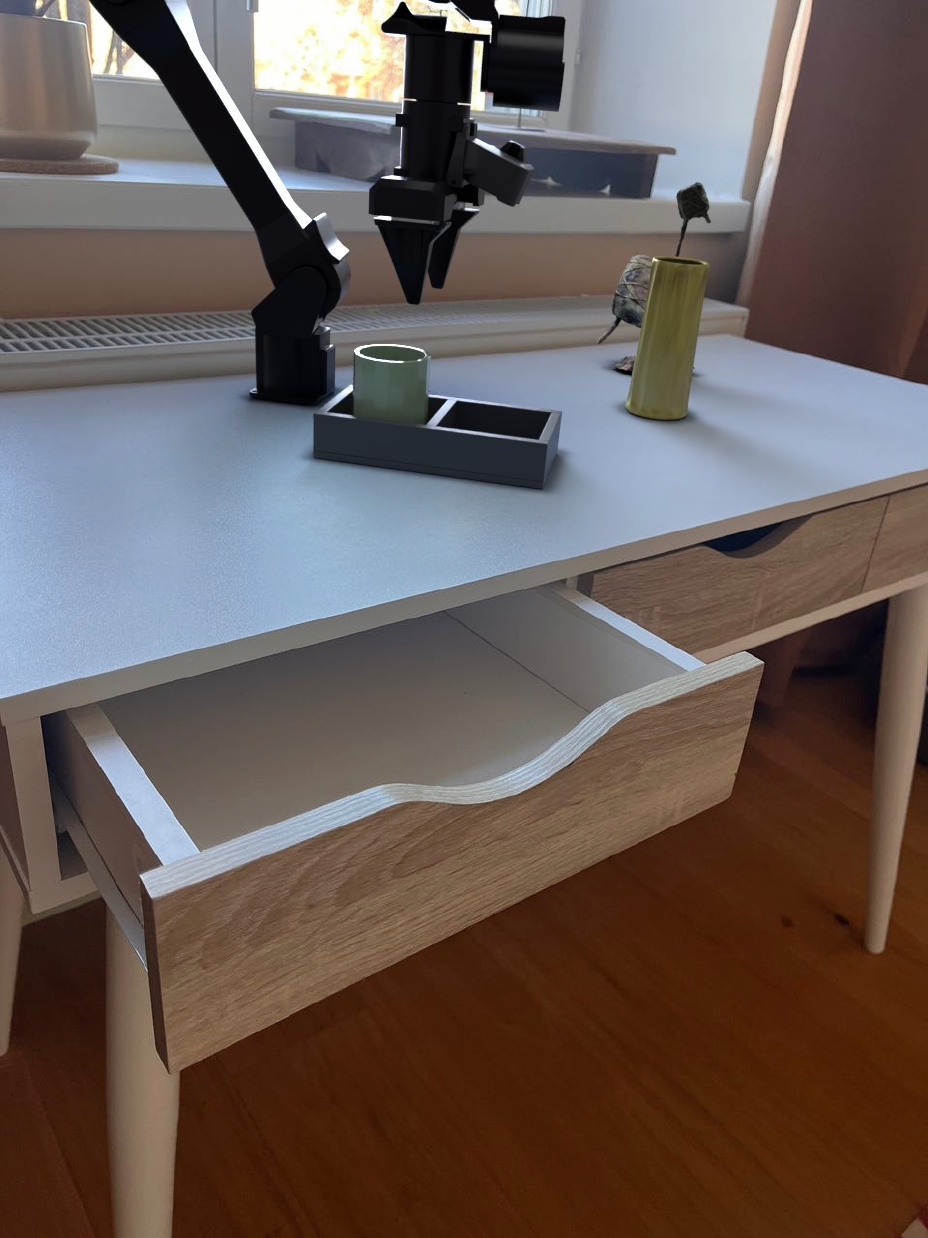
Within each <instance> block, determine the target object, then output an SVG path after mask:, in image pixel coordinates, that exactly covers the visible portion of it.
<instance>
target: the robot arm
mask: <svg viewBox="0 0 928 1238" xmlns="http://www.w3.org/2000/svg"><path fill="white" fill-rule="evenodd" d="M418 1H419V2H421V3H424V4H425V5H428V6H430V7H432V8H435V9H438V10H446V11H447V10H449V11H451V10H455V11H456V12H457V13H458V14H459V15H460V16H461V17H463V18H464V19H465V20H466V21H467V22H468V23H469V24H470V25H471V26H472V27H477V28H486V29H491V34H485V33H474V32H464V31H463V32H462V31H453V30H450V22H449V16H447V15H446V16H445V15H436V14H435V15H434V14H421V13H413V12H412V10H411V8H410V7H409V5H408V3H406V2H405V1H403V0H402V1H400V2H399V3H398V6H397V7H396V10H395V11H394V12H393V13H392V15H391V16H390V17H389V18H387V19H386V20H385V21H383V22H382V23H381V25H380V29H381V32H382V33H383V34H385V35H387V36H389V37H400V38H404V57H403V58H404V59H403V78H402V79H403V82H402V83H403V84H402V102H401V103H402V104H401V112H395V119H394V121H395V123H394V127H395V128H396V127H397V128H400V129H401V130H400V133H401V134H400V153H399V156H400V157H399V166H395V167H393V175H387V176H382V177H380V178H379V179H378V180H377V181H375V183H374V184H373V185H372V186H371V187H369V188H368V215H371V216H375V217H373V223H374V225H375V226H377V228H378V231H379V232H380V236H381V238H382V240H383V243H384V245H385V248H386V250H387V252H388V255H389V258H390V259H391V262H392V265H393V268H394V270H395V273H396V275H397V278H398V281H399V284H400V286H401V290H402V292H403V296H404V297H405V300H406V302H407V304H408V305H413V306H419V305H420V304H421V303H422V299H423V295H424V291H425V286H426V281H427V276H428V279H429V283H430V286H431V288H432V289H437V290H443V289H444V288H445V285H446V282H447V278H448V274H449V270H450V268H451V265H452V260H453V257H454V254H455V250H456V246H457V243H458V241H459V237H460V235H461V231H462V229H463V228H464V227H465V226H466V225H467V224H468V223H470V221H472V219H474V218H475V217H476V216H477V215H478V214H480V213H481V209H477V208H469V207H466V204H472V207H481V206H484V205H485V198H486V197H485V195H486V193H488V194H489V195H492V196H493V197H495V198H496V200H497V201H498V202H500V203H502V204H503V205H506V206H508V207H512V208H513V207H516V205H520V203H521V200H522V199H523V196H524V194H525V192H526V190H527V188H528V185H529V184H530V182H531V180H532V176H533V174H534V172H535V168H534V166H533V165H532V164H530V163H527V147H525V146H524V145H522V144H520V143H518V142H516V141H513V140H509V141H507V142H506V143H505V144H504V145H502V146H501V147H500V148H497V147H496V146H495V145H493V144H488V143H487V142H485V141H482V139H481V140H480V139H479V138H478V125H479V124H478V123H477V122H475V121H476V118H471V109H472V105H471V104H472V95H473V81H474V67H475V66H474V64H475V50H476V44H482V55H481V67H480V68H481V69H480V83H479V85H480V86H479V92H480V93H488V94H492V103H491V104H492V106H491V107H495V108H507V109H518V110H519V109H520V110H532V111H542V112H556V113H559V112H560V107H561V101H562V93H563V85H564V76H565V68H566V67H565V66H566V62H565V61H563V60H564V48H565V33H566V32H565V31H566V21H567V20H566V18H565V16H562V15H561V16H560V15H546V16H541V17H540V16H538V17H537V16H526V15H525V16H523V15H513V14H512V15H511V14H500V13H499V11H498V10H497V8H496V6H497V5H496V0H418ZM88 2H89V3H90V4H91V6H92V7H93V8H94V10H95V11H96V12H97V13H98V14H99V15H100V16H101V18H102V19H103V20H104V21H105V22H106V23H107V25H109V27H110V28H111V29H112V30H113V31H114V33H115V34H116V35H117V36H118V37H119V39H121V40H122V41H123V42H124V43H125V44H126V45H127V46H128V47H129V48H130V49H131V50H132V51H133V52H134V53H135V54H136V55H137V56H138V57H140V59H142V60H143V62H145V64H147V66H149V68H150V69H152V71H153V72H154V73H155V74H156V76H157V77H158V79H159V81H161V83H162V85H163V86H164V88H165V90H166V91H167V93H168V95H169V96H170V98H171V99H172V101H173V102H174V104H175V105H176V107H177V108H178V110H179V112H180V114H181V115H182V117H183V118H184V120H185V121H186V122H187V124H188V126H189V128H190V129H191V131H192V132H193V134H194V136H195V137H196V139H197V140H198V142H199V143H200V145H201V147H202V148H203V150H204V151H205V153H206V155H207V156H208V158H209V159H210V161H211V163H212V164H213V166H214V167H215V169H216V170H217V172H218V174H219V176H220V177H221V179H222V180H223V182H224V183H225V185H226V187H227V188H228V190H229V191H230V193H231V195H232V196H233V197H234V199H235V201H236V202H237V204H238V206H239V207H240V208H241V210H242V212H243V213H244V215H245V217H246V218H247V220H248V221H249V223H250V224H251V226H252V228H253V231H254V233H255V235H256V239H257V243H258V246H259V250H260V253H261V256H262V261H263V263H264V267H265V269H266V272H267V274H268V277H269V278H270V281H271V283H272V285H273V288H274V289H273V290H272V291H270V293H268V294H267V295H266V296H265V297H264V298H263V299H262V300H261V301H260V302H259V303H258V304H256V306H255V307H254V308H252V309H251V311H250V315H251V318H252V321H253V323H254V344H255V345H254V348H255V350H254V351H255V386H254V387H253V388H251V389H249V393H248V394H249V395H248V396H249V397H251V398H257V399H264V400H265V399H266V400H273V401H281V402H287V403H288V402H289V403H296V404H302V405H303V404H304V405H317V404H318V403H319V402H321V401H322V400H324V399H325V398H326V397H327V396H329V395H331V393H333V392H334V391H336V346H335V345H334V344H331V327H325V326H322V325H321V324H322V323H323V322H324V321H325V320H326V319H327V316H328V315H329V314H330V313H331V312H332V311H333V310H335V309H336V308H337V306H338V305H339V304H340V302H341V301H342V300H343V299H344V298H345V296H346V294H347V292H348V291H349V288H350V283H351V278H352V273H351V272H352V271H351V267H350V265H349V262H348V260H347V257H348V256H349V254H350V253H351V251H350V249H349V248H347V247H346V246H344V245H343V244H342V241H340V240H339V238H338V237H337V235H336V233H335V230H334V228H333V225H332V223H331V221H330V218H329V217H328V215H327V213H326V212H322V213H321V214H319V215H318V216H316V217H315V218H313V219H312V218H311V217H309V216H308V215H307V213H305V212H304V211H303V210H302V209H301V208H300V207H299V206H298V204H296V202H295V201H294V200H293V198H292V197H291V195H290V193H289V191H288V190H287V188H286V186H285V185H284V183H283V181H282V179H281V178H280V177H279V175H278V173H277V171H276V170H275V169H274V167H273V165H272V163H271V162H270V160H269V158H268V157H267V156H266V155H267V154H266V153H265V152H264V150H263V148H262V147H261V145H260V144H259V142H258V140H257V139H256V137H255V135H254V134H253V132H252V131H251V128H250V127H249V126H248V124H247V122H246V120H245V119H244V117H243V116H242V114H241V112H240V111H239V109H238V107H237V105H236V104H235V102H234V101H233V99H232V98H231V96H230V94H229V92H228V91H227V89H226V88H225V86H224V84H223V83H222V81H221V79H220V78H219V76H218V75H217V73H216V71H215V69H214V68H213V66H212V65H211V63H210V61H209V60H208V58H207V56H206V55H205V53H204V52H203V50H202V47H201V45H200V41H199V37H198V35H197V31H196V28H195V25H194V20H193V17H192V14H191V11H190V8H189V6H188V5H189V4H188V3H187V0H88Z"/></svg>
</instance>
